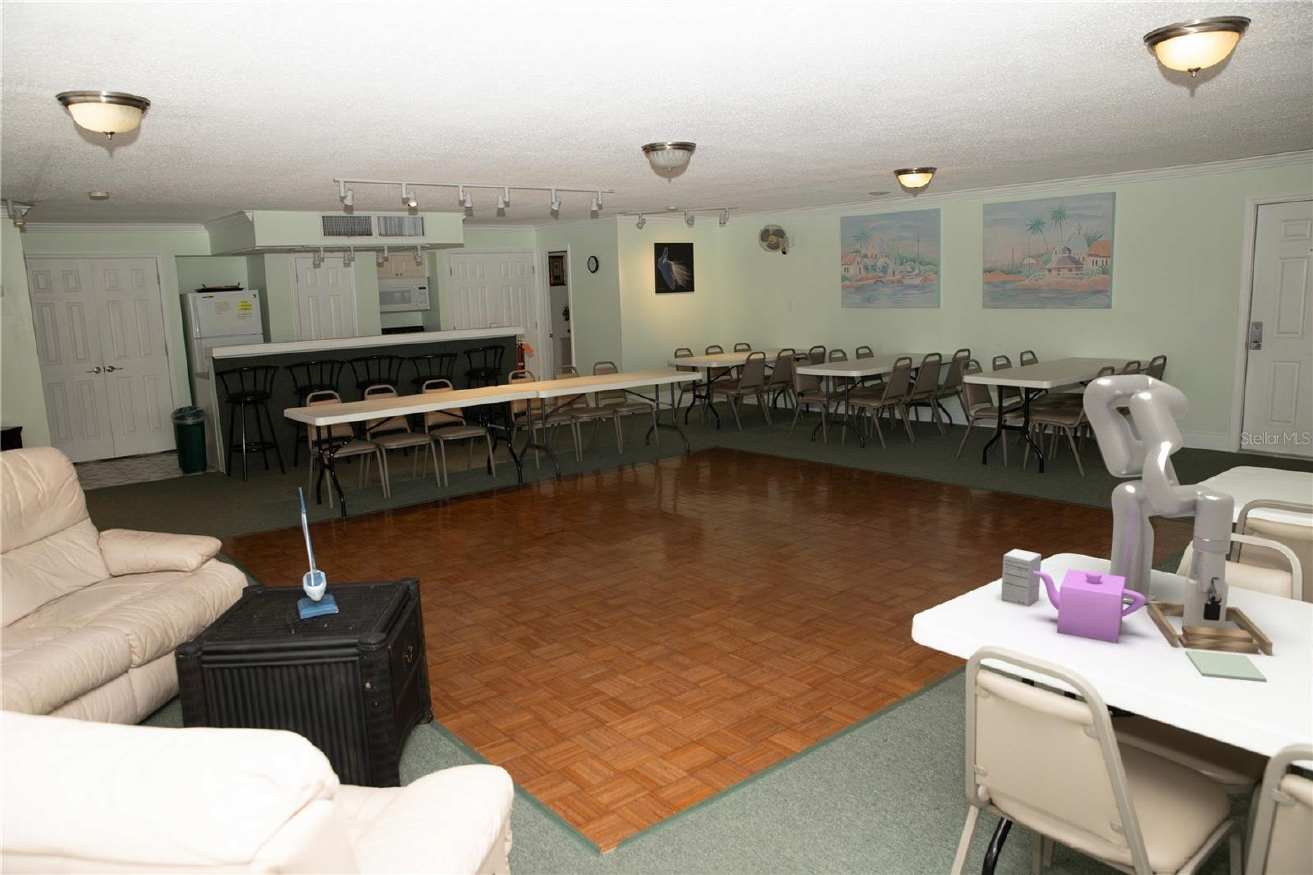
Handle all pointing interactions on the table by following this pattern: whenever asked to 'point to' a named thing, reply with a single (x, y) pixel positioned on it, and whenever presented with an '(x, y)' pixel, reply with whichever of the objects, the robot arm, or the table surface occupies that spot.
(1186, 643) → the offcut stack
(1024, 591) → the supplement box
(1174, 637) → the frame
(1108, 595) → the teapot
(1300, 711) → the table surface
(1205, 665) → the mat
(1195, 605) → the cream rectangular block
